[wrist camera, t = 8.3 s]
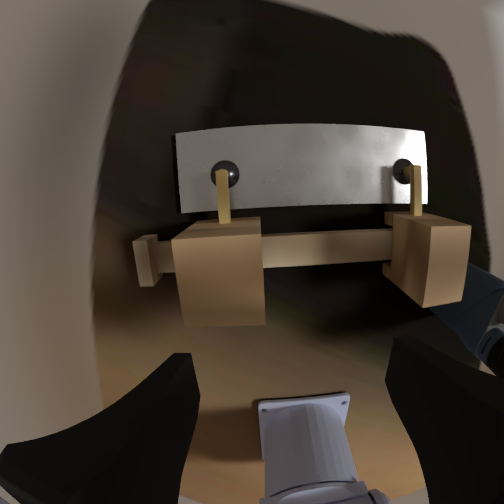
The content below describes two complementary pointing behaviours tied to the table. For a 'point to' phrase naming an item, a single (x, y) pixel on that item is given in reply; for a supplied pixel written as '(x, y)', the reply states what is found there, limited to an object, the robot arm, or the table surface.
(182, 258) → the brown block with peg
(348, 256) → the rail
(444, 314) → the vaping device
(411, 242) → the fixed leg
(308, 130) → the bolt plate
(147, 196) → the table surface
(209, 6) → the table surface
